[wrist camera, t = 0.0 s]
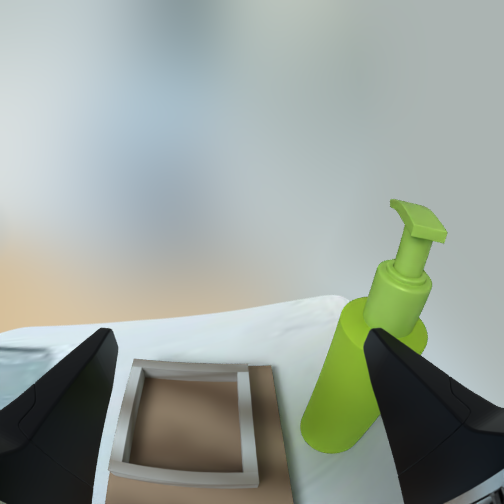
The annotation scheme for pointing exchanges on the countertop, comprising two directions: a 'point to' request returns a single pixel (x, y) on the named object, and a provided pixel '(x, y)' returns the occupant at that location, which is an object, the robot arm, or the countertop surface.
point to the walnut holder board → (198, 437)
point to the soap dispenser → (357, 328)
